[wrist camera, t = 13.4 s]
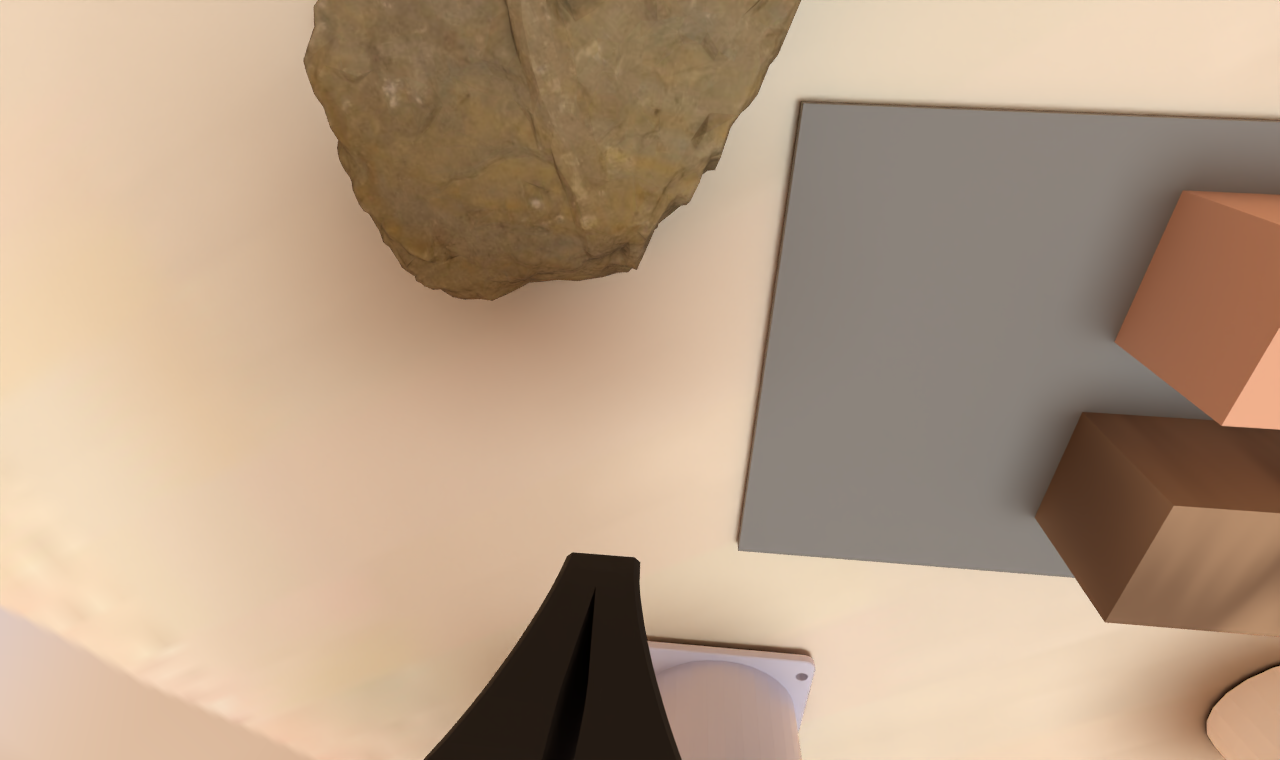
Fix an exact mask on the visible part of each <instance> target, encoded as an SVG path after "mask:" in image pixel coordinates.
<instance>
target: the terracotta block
mask: <svg viewBox="0 0 1280 760" xmlns="http://www.w3.org/2000/svg"><path fill="white" fill-rule="evenodd" d="M1115 343H1116V344H1117V345H1118V346H1120V347H1121V348H1122V349H1124V350H1125V351H1126V352H1127V353H1129V354H1130V355H1131V356H1133V357H1134V358H1135V359H1136V360H1138V361H1139V362H1140V363H1142V364H1143V365H1144V366H1145V367H1147V368H1148V369H1149V370H1151V371H1152V372H1153V373H1154V374H1156V375H1157V376H1158V377H1160V378H1161V379H1162V380H1163V381H1165V382H1166V383H1167V384H1169V385H1170V386H1171V387H1172V388H1174V389H1175V390H1176V391H1178V392H1179V393H1180V394H1181V395H1183V396H1184V397H1185V398H1186V399H1188V400H1189V401H1190V402H1192V403H1193V404H1194V405H1195V406H1197V407H1198V408H1199V409H1201V410H1202V411H1203V412H1204V413H1206V414H1207V415H1208V416H1210V417H1211V418H1212V419H1213V420H1215V421H1216V422H1217V423H1219V424H1220V425H1221V426H1232V427H1248V428H1263V429H1278V430H1280V195H1274V194H1252V193H1229V192H1207V191H1184V190H1183V191H1182V193H1181V196H1180V198H1179V200H1178V202H1177V204H1176V207H1175V209H1174V211H1173V213H1172V216H1171V218H1170V220H1169V222H1168V224H1167V227H1166V229H1165V231H1164V233H1163V235H1162V238H1161V240H1160V242H1159V244H1158V247H1157V249H1156V251H1155V253H1154V255H1153V258H1152V260H1151V262H1150V264H1149V266H1148V269H1147V271H1146V273H1145V275H1144V278H1143V280H1142V282H1141V284H1140V286H1139V289H1138V291H1137V293H1136V295H1135V297H1134V300H1133V302H1132V304H1131V306H1130V308H1129V311H1128V313H1127V315H1126V317H1125V320H1124V322H1123V324H1122V326H1121V328H1120V331H1119V333H1118V335H1117V337H1116V339H1115Z"/></svg>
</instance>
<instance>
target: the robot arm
mask: <svg viewBox="0 0 1280 760" xmlns="http://www.w3.org/2000/svg"><path fill="white" fill-rule="evenodd" d="M639 579H640V562H639V561H638V560H637V559H636V558H634V557H622V556H610V555H598V554H585V553H571V554H570V555H568V556H567V558H566V560H565V562H564V564H563V566H562V569H561V570H560V572H559V574H558V576H557V578H556V580H555V582H554V584H553V586H552V588H551V589H550V591H549V593H548V595H547V596H546V598H545V600H544V601H543V603H542V605H541V607H540V608H539V610H538V612H537V613H536V615H535V616H534V618H533V619H532V621H531V622H530V624H529V626H528V627H527V629H526V630H525V632H524V633H523V635H522V636H521V638H520V639H519V641H518V643H517V644H516V645H515V647H514V648H513V650H512V651H511V653H510V654H509V655H508V657H507V658H506V659H505V661H504V662H503V664H502V665H501V666H500V668H499V669H498V670H497V672H496V673H495V675H494V676H493V677H492V679H491V680H490V681H489V683H488V684H487V685H486V687H485V688H484V689H483V691H482V692H481V693H480V694H479V696H478V697H477V698H476V700H475V701H474V702H473V703H472V705H471V706H470V707H469V708H468V709H467V711H466V712H465V713H464V714H463V715H462V717H461V718H460V719H459V720H458V721H457V723H456V724H455V725H454V726H453V727H452V729H451V730H450V731H449V732H448V733H447V734H446V735H445V737H444V738H443V739H442V740H441V741H440V742H439V743H438V744H437V745H436V746H435V748H434V749H433V750H432V751H431V752H430V753H429V754H428V755H427V756H426V757H425V759H424V760H802V758H801V751H800V744H799V736H798V733H799V729H800V725H801V721H802V717H803V714H804V710H805V706H806V702H807V699H808V695H809V691H810V687H811V683H812V680H813V676H814V672H815V664H814V660H813V659H812V658H811V657H809V656H807V655H799V654H788V653H777V652H766V651H754V650H743V649H732V648H721V647H709V646H698V645H687V644H676V643H665V642H653V641H647V636H646V632H645V626H644V620H643V613H642V606H641V598H640V585H639Z"/></svg>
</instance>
